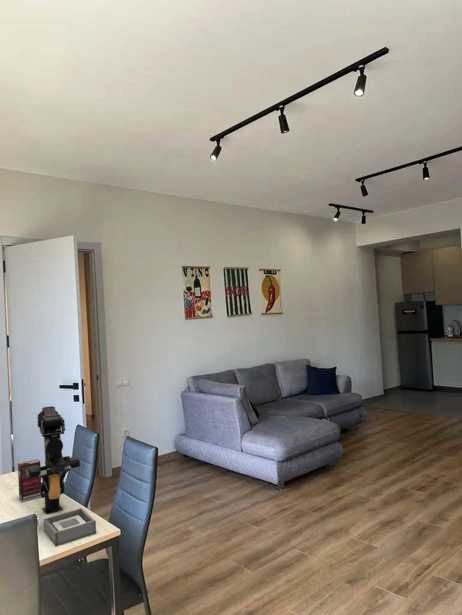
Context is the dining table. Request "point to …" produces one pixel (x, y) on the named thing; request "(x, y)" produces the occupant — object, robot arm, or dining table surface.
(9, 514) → the dining table surface
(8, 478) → the dining table surface
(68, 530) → the inlet box
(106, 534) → the dining table surface
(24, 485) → the supplement box
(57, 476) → the plug
